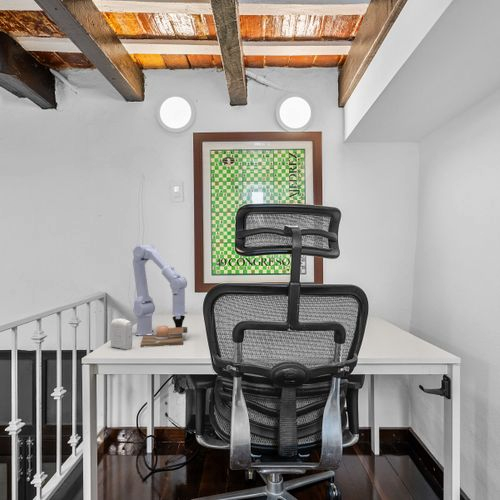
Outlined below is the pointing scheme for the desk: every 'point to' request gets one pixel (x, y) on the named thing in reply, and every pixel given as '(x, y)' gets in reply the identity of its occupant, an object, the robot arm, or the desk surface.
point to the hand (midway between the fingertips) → (178, 331)
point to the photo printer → (121, 334)
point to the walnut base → (162, 340)
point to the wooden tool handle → (169, 330)
